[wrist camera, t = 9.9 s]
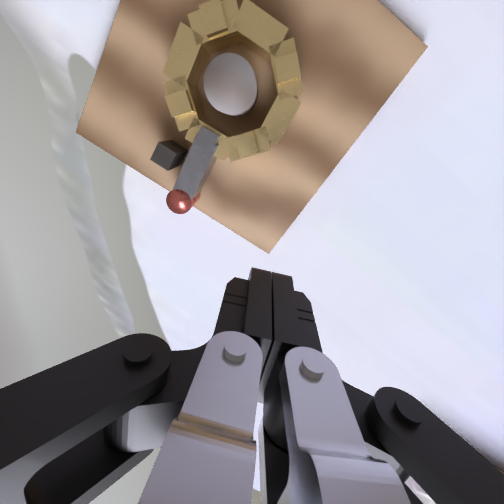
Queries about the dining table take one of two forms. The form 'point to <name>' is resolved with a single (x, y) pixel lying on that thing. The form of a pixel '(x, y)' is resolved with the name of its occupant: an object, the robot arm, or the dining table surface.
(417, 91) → the dining table surface
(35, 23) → the dining table surface
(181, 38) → the gold ring with lever
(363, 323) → the dining table surface
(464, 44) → the dining table surface
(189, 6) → the jig board
